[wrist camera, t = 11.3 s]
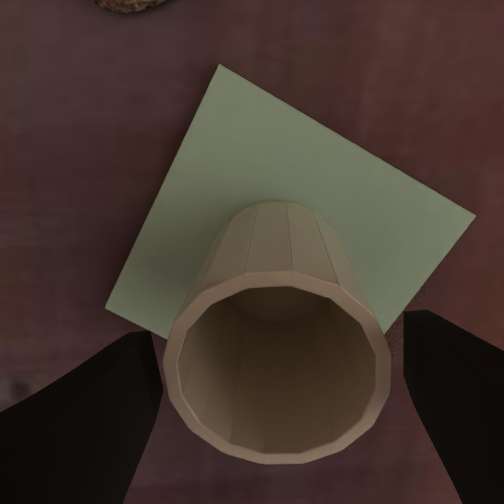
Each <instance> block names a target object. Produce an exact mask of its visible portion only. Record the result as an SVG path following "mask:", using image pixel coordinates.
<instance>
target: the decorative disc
mask: <svg viewBox="0 0 504 504" xmlns="http://www.w3.org/2000/svg"><path fill="white" fill-rule="evenodd" d="M94 1H95V3H96V4H97V6H98V7H100V8H106V7H107V8H109V9H111V11H116V12H118V13H122V12H124V13H129V12H138V11H140V10H146V9H145V7H146V6H147V5H150V6H155V5H157V4H161V3H164V2H165V1H166V0H94Z"/></svg>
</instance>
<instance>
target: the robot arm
mask: <svg viewBox="0 0 504 504" xmlns="http://www.w3.org/2000/svg"><path fill="white" fill-rule="evenodd" d="M403 375H404V378H405V381H406V384H407V387H408V390H409V393H410V395H411V398H412V401H413V404H414V406H415V409H416V411H417V413H418V415H419V417H420V419H421V421H422V423H423V425H424V427H425V429H426V431H427V433H428V435H429V437H430V439H431V441H432V443H433V445H434V447H435V449H436V451H437V452H438V454H439V456H440V458H441V460H442V462H443V464H444V466H445V468H446V470H447V472H448V474H449V476H450V478H451V480H452V482H453V484H454V486H455V488H456V491H457V493H458V495H459V497H460V499H461V501H462V504H504V351H503V350H501V349H499V348H497V347H495V346H493V345H491V344H490V343H488V342H486V341H484V340H482V339H480V338H478V337H476V336H475V335H473V334H471V333H469V332H467V331H465V330H464V329H462V328H460V327H458V326H457V325H455V324H453V323H451V322H449V321H448V320H446V319H444V318H442V317H440V316H438V315H437V314H435V313H433V312H431V311H428V310H418V311H404V371H403ZM162 393H163V385H162V380H161V376H160V372H159V367H158V363H157V359H156V354H155V350H154V345H153V341H152V337H151V332H150V331H139V332H130V333H128V334H126V335H124V336H122V337H121V338H119V339H117V340H116V341H114V342H113V343H111V344H110V345H108V346H107V347H105V348H104V349H103V350H101V351H100V352H98V353H97V354H95V355H94V356H92V357H91V358H89V359H88V360H87V361H85V362H84V363H82V364H81V365H79V366H78V367H76V368H75V369H73V370H72V371H70V372H69V373H67V374H65V375H64V376H62V377H61V378H59V379H58V380H56V381H54V382H53V383H51V384H50V385H48V386H47V387H45V388H43V389H42V390H40V391H38V392H37V393H35V394H33V395H32V396H30V397H28V398H26V399H25V400H23V401H21V402H19V403H17V404H15V405H13V406H12V407H10V408H8V409H6V410H4V411H2V412H0V504H123V501H124V499H125V496H126V493H127V491H128V488H129V486H130V483H131V481H132V479H133V476H134V474H135V471H136V469H137V466H138V464H139V461H140V459H141V456H142V454H143V452H144V449H145V447H146V444H147V442H148V439H149V437H150V434H151V432H152V429H153V426H154V424H155V421H156V418H157V414H158V410H159V406H160V402H161V398H162Z"/></svg>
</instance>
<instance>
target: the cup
mask: <svg viewBox="0 0 504 504" xmlns="http://www.w3.org/2000/svg"><path fill="white" fill-rule="evenodd" d="M162 365H163V370H164V376H165V381H166V387H167V392H168V397H169V400H170V401H171V403H172V404H173V406H174V407H175V409H176V410H177V412H178V413H179V414H180V416H181V417H182V419H183V420H184V422H185V423H186V425H187V426H188V428H189V429H190V430H191V431H192V432H194V433H195V434H196V435H198V436H199V437H201V438H202V439H204V440H205V441H207V442H208V443H209V444H211V445H212V446H214V447H215V448H217V449H218V450H219V451H221V452H223V453H225V454H228V455H232V456H235V457H238V458H242V459H245V460H249V461H252V462H255V463H259V464H303V463H307V462H310V461H313V460H316V459H319V458H322V457H325V456H328V455H331V454H334V453H337V452H340V451H341V450H343V449H345V448H346V447H347V446H348V445H350V444H351V443H352V442H353V441H355V440H356V439H357V438H358V437H360V436H361V435H362V434H363V433H365V432H366V431H367V430H368V429H370V428H371V427H372V425H374V423H375V421H376V419H377V417H378V415H379V413H380V412H381V410H382V408H383V406H384V404H385V402H386V400H387V399H388V397H389V395H390V392H391V379H392V351H391V348H390V346H389V344H388V342H387V340H386V338H385V336H384V333H383V331H382V329H381V327H380V325H379V323H378V321H377V318H376V316H375V314H374V312H373V310H372V308H371V306H370V304H369V302H368V299H367V297H366V295H365V293H364V291H363V289H362V287H361V285H360V283H359V281H358V278H357V276H356V274H355V272H354V270H353V268H352V266H351V264H350V262H349V259H348V257H347V255H346V253H345V251H344V249H343V247H342V245H341V243H340V240H339V238H338V236H337V234H336V232H335V230H334V229H333V228H332V227H331V226H330V224H329V223H328V222H327V221H326V220H325V219H324V218H323V217H322V216H321V215H319V214H318V213H317V212H315V211H314V210H312V209H310V208H308V207H306V206H304V205H301V204H298V203H295V202H291V201H283V200H271V201H264V202H260V203H256V204H253V205H251V206H248V207H246V208H244V209H243V210H241V211H239V212H238V213H236V214H235V215H234V216H233V217H231V218H230V219H229V220H228V222H227V223H226V224H225V225H224V226H223V228H222V229H221V230H220V232H219V233H218V235H217V236H216V238H215V239H214V241H213V243H212V245H211V247H210V249H209V251H208V253H207V256H206V258H205V260H204V262H203V264H202V266H201V268H200V270H199V272H198V274H197V276H196V278H195V280H194V282H193V284H192V286H191V288H190V290H189V292H188V294H187V296H186V298H185V300H184V302H183V304H182V306H181V308H180V310H179V312H178V314H177V316H176V318H175V320H174V322H173V324H172V327H171V330H170V334H169V337H168V341H167V344H166V348H165V351H164V355H163V358H162Z"/></svg>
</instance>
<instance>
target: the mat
mask: <svg viewBox="0 0 504 504" xmlns="http://www.w3.org/2000/svg"><path fill="white" fill-rule="evenodd" d="M271 200H283V201H291V202H295V203H298V204H301V205H304V206H306V207H308V208H310V209H312V210H314V211H315V212H317V213H318V214H319V215H321V216H322V217H323V218H324V219H325V220H326V221H327V222H328V223H329V224H330V226H331V227H332V228H333V229H334V230H335V232H336V234H337V236H338V238H339V240H340V243H341V245H342V247H343V249H344V251H345V253H346V255H347V257H348V259H349V262H350V264H351V266H352V268H353V270H354V272H355V274H356V276H357V278H358V281H359V283H360V285H361V287H362V289H363V291H364V293H365V295H366V297H367V299H368V302H369V304H370V306H371V308H372V310H373V312H374V314H375V316H376V318H377V321H378V323H379V325H380V327H381V329H382V331H383V333H384V334H385V333H386V331H387V330H388V329H389V328H390V326H391V325H392V324H393V322H394V321H395V320H396V319H397V317H398V316H399V315H400V313H401V312H402V311H403V310H404V308H405V307H406V306H407V304H408V303H409V302H410V301H411V299H412V298H413V297H414V295H415V294H416V293H417V292H418V290H419V289H420V288H421V286H422V285H423V284H424V282H425V281H426V280H427V279H428V277H429V276H430V275H431V273H432V272H433V271H434V270H435V268H436V267H437V266H438V264H439V263H440V262H441V261H442V259H443V258H444V257H445V255H446V254H447V253H448V252H449V250H450V249H451V248H452V246H453V245H454V244H455V243H456V241H457V240H458V239H459V237H460V236H461V235H462V234H463V232H464V231H465V230H466V228H467V227H468V226H469V225H470V223H471V222H472V221H473V219H474V218H475V217H476V216H475V215H474V214H472V213H471V212H469V211H467V210H466V209H464V208H462V207H461V206H459V205H457V204H455V203H454V202H452V201H450V200H449V199H447V198H445V197H444V196H442V195H440V194H439V193H437V192H435V191H433V190H432V189H430V188H428V187H427V186H425V185H423V184H422V183H420V182H418V181H417V180H415V179H413V178H411V177H410V176H408V175H406V174H405V173H403V172H401V171H400V170H398V169H396V168H395V167H393V166H391V165H390V164H388V163H386V162H384V161H383V160H381V159H379V158H378V157H376V156H374V155H373V154H371V153H369V152H368V151H366V150H364V149H362V148H361V147H359V146H357V145H356V144H354V143H352V142H351V141H349V140H347V139H346V138H344V137H342V136H340V135H339V134H337V133H335V132H334V131H332V130H330V129H329V128H327V127H325V126H324V125H322V124H320V123H318V122H317V121H315V120H313V119H312V118H310V117H308V116H307V115H305V114H303V113H302V112H300V111H298V110H296V109H295V108H293V107H291V106H290V105H288V104H286V103H285V102H283V101H281V100H280V99H278V98H276V97H275V96H273V95H271V94H269V93H268V92H266V91H264V90H263V89H261V88H259V87H258V86H256V85H254V84H253V83H251V82H249V81H247V80H246V79H244V78H242V77H241V76H239V75H237V74H236V73H234V72H232V71H231V70H229V69H227V68H225V67H224V66H222V65H220V64H219V65H218V67H217V69H216V71H215V74H214V76H213V78H212V80H211V82H210V84H209V86H208V88H207V91H206V93H205V95H204V97H203V99H202V101H201V103H200V105H199V108H198V110H197V112H196V114H195V116H194V118H193V120H192V122H191V125H190V127H189V129H188V131H187V133H186V135H185V137H184V139H183V142H182V144H181V146H180V148H179V150H178V152H177V154H176V157H175V159H174V161H173V163H172V165H171V167H170V169H169V171H168V174H167V176H166V178H165V180H164V182H163V184H162V186H161V188H160V191H159V193H158V195H157V197H156V199H155V201H154V203H153V205H152V208H151V210H150V212H149V214H148V216H147V218H146V220H145V222H144V225H143V227H142V229H141V231H140V233H139V235H138V237H137V239H136V242H135V244H134V246H133V248H132V250H131V252H130V254H129V256H128V259H127V261H126V263H125V265H124V267H123V269H122V271H121V273H120V276H119V278H118V280H117V282H116V284H115V286H114V288H113V290H112V293H111V295H110V297H109V299H108V301H107V303H106V305H105V309H107V310H109V311H111V312H113V313H115V314H117V315H119V316H121V317H123V318H125V319H127V320H129V321H131V322H133V323H135V324H137V325H139V326H141V327H143V328H145V329H147V330H149V331H151V332H153V333H155V334H157V335H159V336H161V337H163V338H165V339H167V340H168V337H169V334H170V330H171V327H172V324H173V322H174V320H175V318H176V316H177V314H178V312H179V310H180V308H181V306H182V304H183V302H184V300H185V298H186V296H187V294H188V292H189V290H190V288H191V286H192V284H193V282H194V280H195V278H196V276H197V274H198V272H199V270H200V268H201V266H202V264H203V262H204V260H205V258H206V256H207V253H208V251H209V249H210V247H211V245H212V243H213V241H214V239H215V238H216V236H217V235H218V233H219V232H220V230H221V229H222V228H223V226H224V225H225V224H226V223H227V222H228V220H229V219H230V218H231V217H233V216H234V215H235V214H236V213H238V212H239V211H241V210H243V209H244V208H246V207H248V206H251V205H253V204H256V203H260V202H264V201H271Z"/></svg>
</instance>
